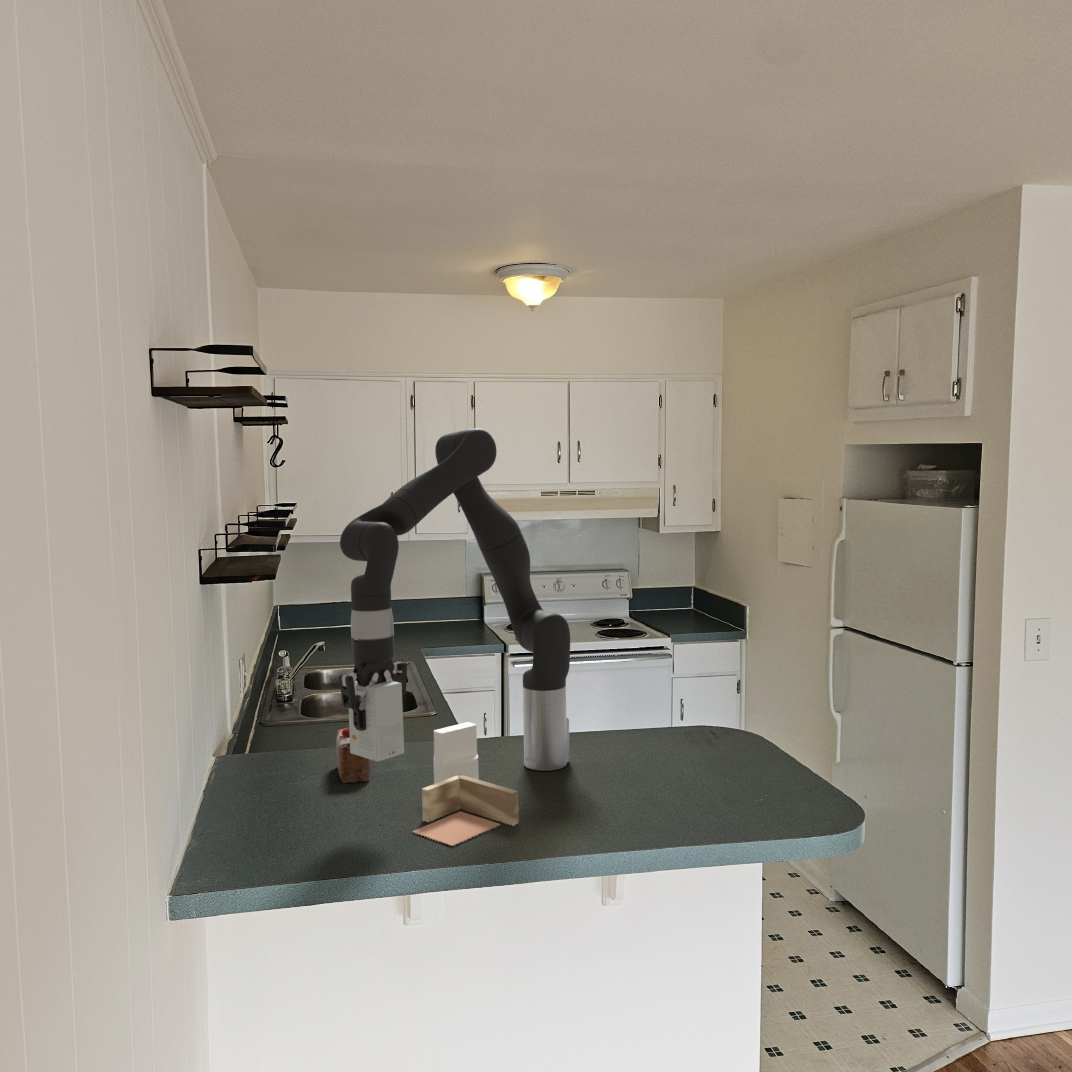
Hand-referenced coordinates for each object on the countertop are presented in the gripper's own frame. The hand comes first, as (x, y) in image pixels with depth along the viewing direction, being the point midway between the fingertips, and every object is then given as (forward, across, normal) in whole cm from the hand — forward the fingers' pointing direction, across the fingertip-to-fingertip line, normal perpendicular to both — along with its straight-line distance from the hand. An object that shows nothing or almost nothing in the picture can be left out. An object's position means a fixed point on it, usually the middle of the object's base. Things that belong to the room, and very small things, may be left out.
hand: (376, 724), depth 167 cm
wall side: (+18, -10, +6) cm, 22 cm away
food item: (+19, -16, -26) cm, 36 cm away
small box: (+5, 0, 0) cm, 5 cm away
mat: (+18, -7, +13) cm, 23 cm away
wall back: (+18, -15, +13) cm, 27 cm away
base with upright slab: (+19, -23, -3) cm, 30 cm away
